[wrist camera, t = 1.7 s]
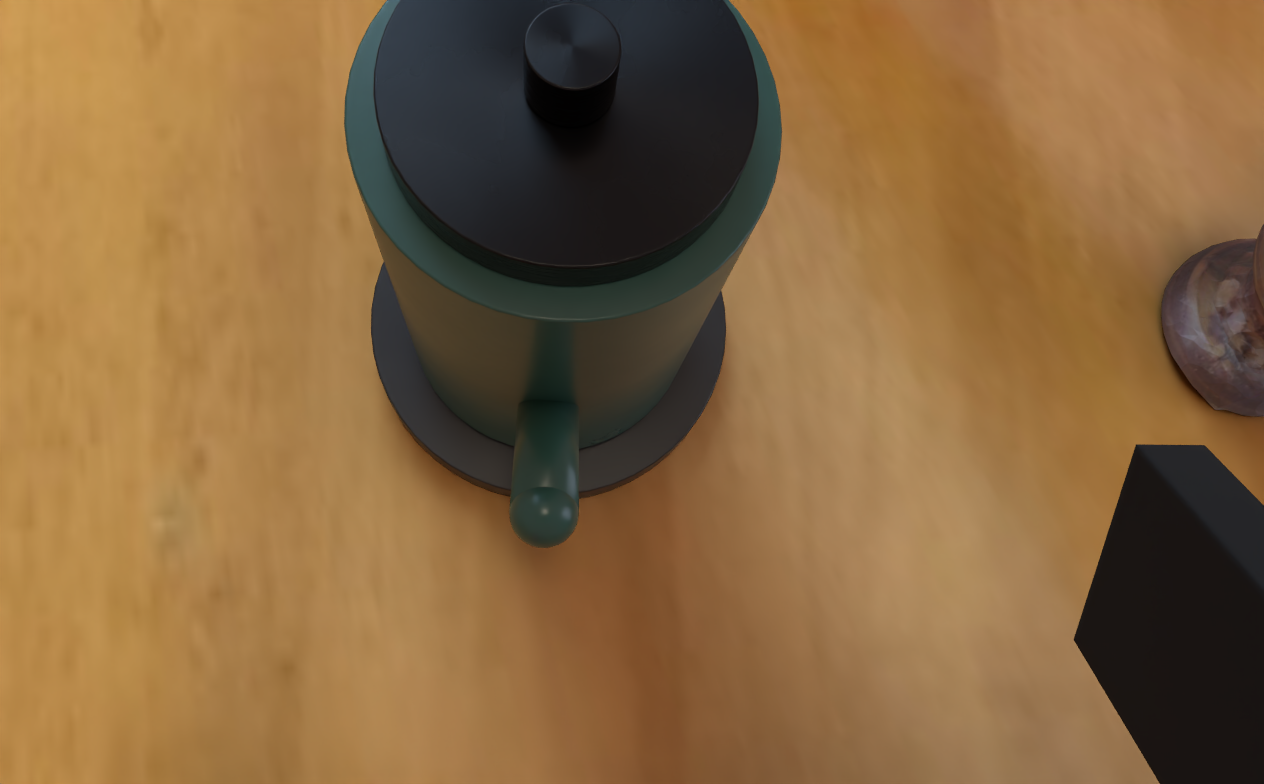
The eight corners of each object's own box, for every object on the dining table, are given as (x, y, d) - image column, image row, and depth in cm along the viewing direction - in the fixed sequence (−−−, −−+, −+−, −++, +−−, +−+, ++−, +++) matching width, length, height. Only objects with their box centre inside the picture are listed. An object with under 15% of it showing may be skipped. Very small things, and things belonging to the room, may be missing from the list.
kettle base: (717, 509, 40) (724, 503, 38) (360, 493, 38) (354, 486, 37) (721, 185, 43) (728, 169, 41) (391, 162, 42) (387, 144, 40)
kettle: (682, 580, 37) (819, 513, 20) (390, 569, 36) (267, 488, 19) (692, 87, 42) (809, -313, 25) (433, 67, 41) (366, -363, 24)
